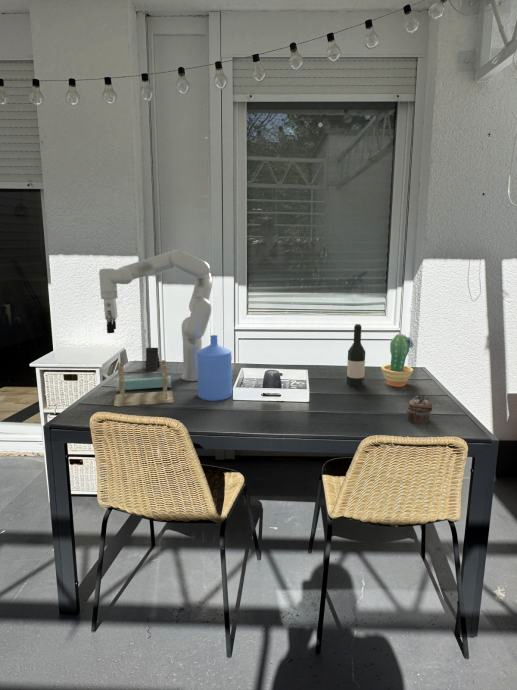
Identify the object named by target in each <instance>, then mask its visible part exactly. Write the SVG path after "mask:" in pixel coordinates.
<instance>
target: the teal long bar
mask: <svg viewBox="0 0 517 690" xmlns="http://www.w3.org/2000/svg"><path fill="white" fill-rule="evenodd" d="M171 376H172V375H167V389H171V388H172V377H171ZM115 379H116V383H115V386H116V392H120V389H119V377H118V378H115ZM124 384H125V391H126V390H127V391H128V390H139V389H157V388H158V389H159V388H163V380H162V376H158V377H157V376H156V377H143V378H142V377H141V378H139V377H138V378H124Z"/></svg>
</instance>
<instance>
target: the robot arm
mask: <svg viewBox="0 0 517 690" xmlns="http://www.w3.org/2000/svg"><path fill="white" fill-rule="evenodd" d="M176 269H178V270H180V271H182V272H185V273H186V274H189V275H191V276H193V278H194V286H193V291H192V295H191V298H190V301H189V303H188V309H189V311H190V315H189V316H187V317H186V318H184V319H183V320H182V321H181V322H182V323H181V326H180V327H181V337H182V358H183V359H182V361H183V362H182V363H183V373H182V374H181V375H180V379H181V380H182V381H186V382H198V379H197V373H198V369H197V352H198V351H199V350H201V349H203V343H202V342H203V340H202V337H204V335H205V333H206V331H207V328H208V326H209V325H208V324H209V322H210V318H211V315H212V305H211V302H210V301H209V300H210V296H211V293H212V287H213V278H212V275H211V267H210V264H209V263H208V262H206V260H202V259H200V258H198V257H196V256H194V255H192V254H190V253H188V252H186V251H183V250H180V249H173V250H171V251H167V252H163V253H160V254H158V255H154V256H152V257H149V258H145V259H142V260H140V261H136V262H132V263H130V264H126V265H124V266H121V267H119V268H118V269H117V268H116V269H114V268H110V267H109V268H101V269H99V271H98V275H99V277H98V278H99V291H100V299H101V300H103V309H104V311H103V312H104V319H105V320H106V333H107V334H115V330H117V324H116V322H117V321H116V320H117V318H118V309H117V308H118V307H117V300H116V299H118V298H119V297H118V296H119V295H118V285H130V284H131V283H132V282H133V281H135V280H136V279H139V278H144V277H148V276H149V277H151V276H152V277H154V276H157V275H158V276H159V275H160V274H164V273H166V272H168V271H172V270H176Z"/></svg>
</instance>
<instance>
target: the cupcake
mask: <svg viewBox="0 0 517 690" xmlns="http://www.w3.org/2000/svg"><path fill="white" fill-rule="evenodd" d="M405 408H406V415H407V420H408V421H409V422H412V423H415V424H427V423H428V422H429V421H430V417H431V415H432V411H433V405H432V402H431V401H429V398H428V397H427V396H426V395H422V396H420V395H419V394H417V395H416V396H414V397H413V399H411V400H409V402H408V404H407V405H406V407H405Z"/></svg>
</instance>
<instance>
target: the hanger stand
mask: <svg viewBox="0 0 517 690" xmlns="http://www.w3.org/2000/svg"><path fill="white" fill-rule="evenodd" d="M118 364H119V365H118V368H117V370H118V371H117V372H118V378H119V389H120V391H119V393H118V394H115V397H114V402H113V403H114V404H113V405H114V407H115V406H117V407H126V406H127V407H129V406H141V405H140V404H145V405H156V404H158V403H159V404H169V403H171V404H172V403H174V395H173V390H168V387H167V376H168V375H167V365H166V364H167V363H166V360H163V359H162V360H161V372H162V374H161V375H162V376H161V377H162V380H163V387H162V391H151V392H150V391H149V392H148V391H147V392H136V393H135V392H134V393H133V392H132V393H126V390H125V384H124V379H125V376H124V375H125V372H124V371H125V369H124V362H119V363H118Z"/></svg>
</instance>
